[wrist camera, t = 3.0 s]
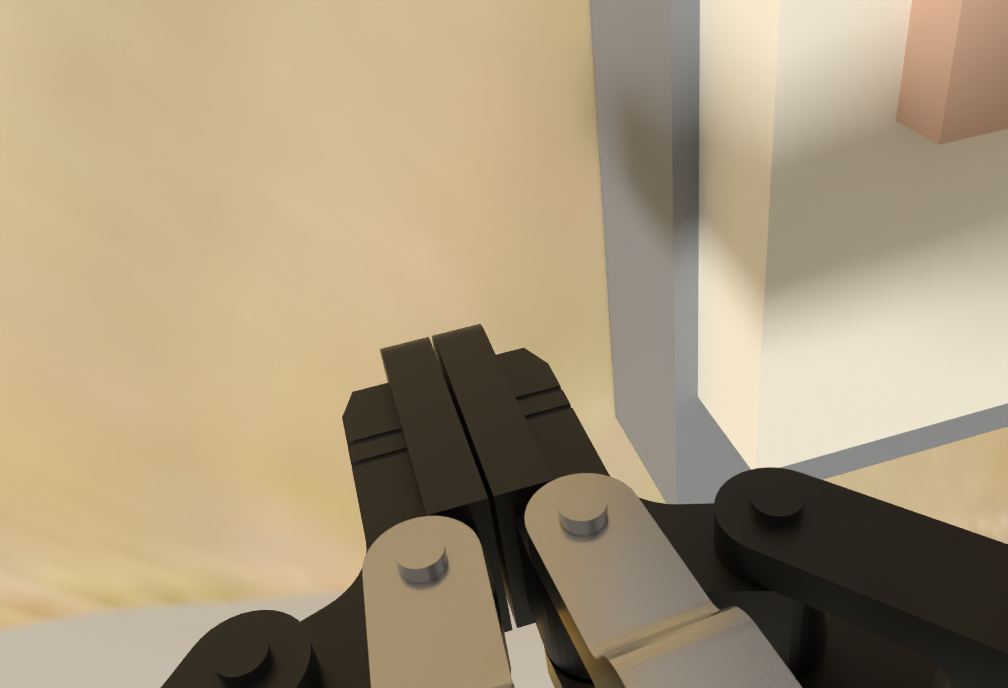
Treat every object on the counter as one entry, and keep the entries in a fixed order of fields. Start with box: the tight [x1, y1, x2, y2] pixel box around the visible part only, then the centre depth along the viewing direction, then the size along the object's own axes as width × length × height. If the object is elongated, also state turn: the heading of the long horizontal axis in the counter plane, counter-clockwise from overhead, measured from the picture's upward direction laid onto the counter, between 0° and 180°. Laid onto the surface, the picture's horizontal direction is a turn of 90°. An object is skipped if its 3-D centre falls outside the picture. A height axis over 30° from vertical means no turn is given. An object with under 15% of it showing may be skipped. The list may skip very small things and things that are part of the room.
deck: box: [590, 0, 1008, 504], centre depth 19 cm, size 16×14×4 cm
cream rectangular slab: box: [698, 0, 1008, 469], centre depth 16 cm, size 9×6×4 cm, turn 7°
